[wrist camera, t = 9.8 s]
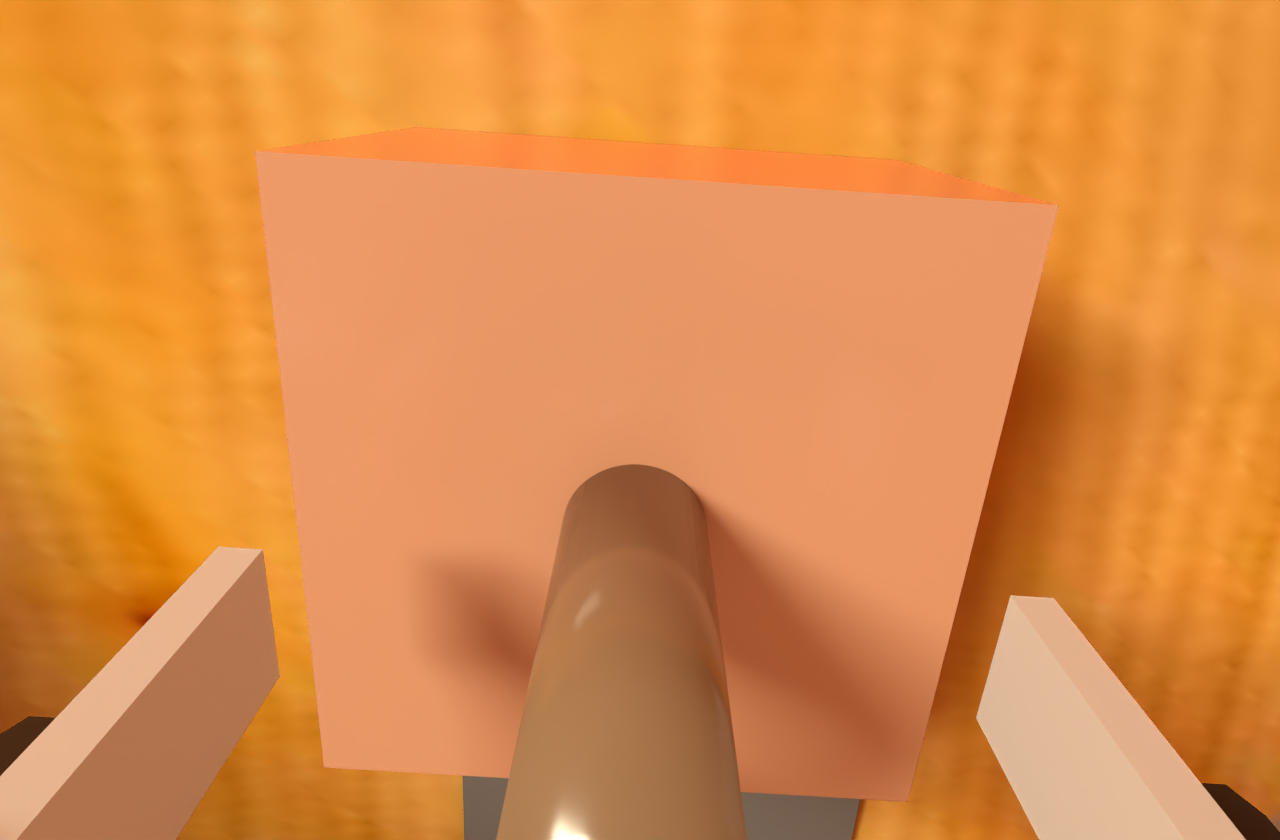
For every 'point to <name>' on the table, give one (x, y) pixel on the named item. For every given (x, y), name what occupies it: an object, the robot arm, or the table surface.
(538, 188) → the pink box with peg
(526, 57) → the table surface
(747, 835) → the mat
